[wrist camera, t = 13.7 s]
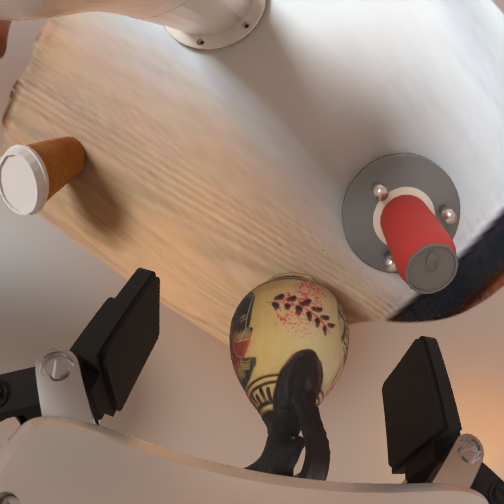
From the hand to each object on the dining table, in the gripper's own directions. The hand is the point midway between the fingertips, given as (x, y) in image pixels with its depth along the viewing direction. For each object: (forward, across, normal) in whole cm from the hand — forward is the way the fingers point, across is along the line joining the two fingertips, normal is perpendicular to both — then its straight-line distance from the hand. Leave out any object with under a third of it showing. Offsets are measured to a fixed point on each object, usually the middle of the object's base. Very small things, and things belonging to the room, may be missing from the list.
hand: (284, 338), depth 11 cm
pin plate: (+30, -14, +4) cm, 34 cm away
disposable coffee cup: (+31, +33, +7) cm, 45 cm away
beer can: (+29, -14, +4) cm, 32 cm away
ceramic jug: (+31, -5, +21) cm, 37 cm away
